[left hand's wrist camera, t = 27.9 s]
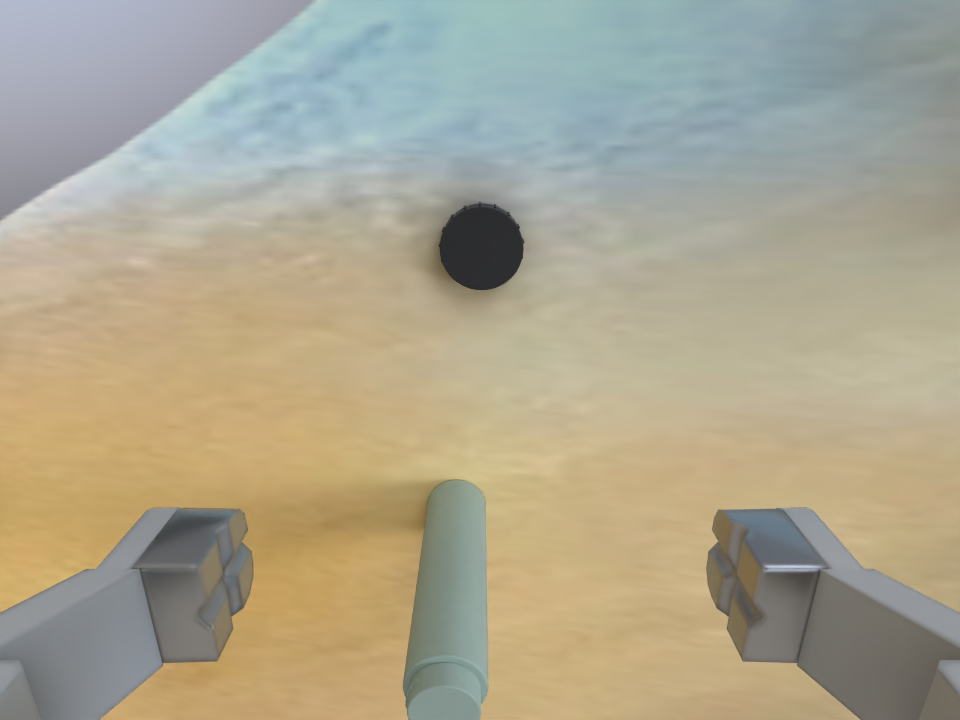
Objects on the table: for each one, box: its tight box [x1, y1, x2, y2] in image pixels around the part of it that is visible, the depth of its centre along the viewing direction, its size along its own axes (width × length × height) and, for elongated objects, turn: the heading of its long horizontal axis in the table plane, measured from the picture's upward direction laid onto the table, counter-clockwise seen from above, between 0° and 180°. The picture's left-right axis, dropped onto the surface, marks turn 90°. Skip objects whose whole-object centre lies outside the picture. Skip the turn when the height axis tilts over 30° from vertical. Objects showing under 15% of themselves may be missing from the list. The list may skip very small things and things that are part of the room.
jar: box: [403, 480, 488, 720], centre depth 35 cm, size 4×4×16 cm
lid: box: [439, 202, 524, 290], centre depth 35 cm, size 5×5×2 cm
